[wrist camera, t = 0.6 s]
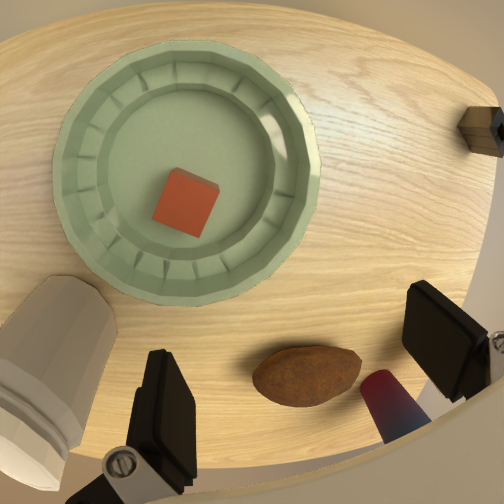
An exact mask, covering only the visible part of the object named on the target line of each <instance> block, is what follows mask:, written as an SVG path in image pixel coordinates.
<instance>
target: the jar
mask: <svg viewBox="0 0 504 504" xmlns="http://www.w3.org/2000/svg"><path fill="white" fill-rule="evenodd" d="M117 333H118V331H117V327H116V322H115V318H114V313H113V310H112V308H111V307H110V306H109V305H108V303H107V302H106V301H105V300H104V298H103V297H102V296H101V294H100V293H99V292H98V291H97V289H96V288H94V287H92V286H90V285H88V284H87V283H85V282H83V281H81V280H79V279H78V278H76V277H74V276H50V277H49V278H48V279H47V280H45V281H44V282H43V283H42V284H41V285H39V286H38V287H37V288H36V289H35V290H34V291H33V292H32V293H31V294H30V295H29V296H28V297H27V299H26V300H25V301H24V302H23V303H22V304H21V305H20V306H19V307H18V308H17V309H16V311H15V312H14V313H13V314H12V315H11V316H10V317H9V318H8V320H7V321H6V322H5V323H4V324H3V325H2V327H1V328H0V471H2V472H3V473H5V474H7V475H8V476H10V477H12V478H14V479H15V480H17V481H19V482H21V483H23V484H26V485H29V486H31V487H34V488H37V489H39V490H46V491H59V486H60V483H61V478H62V474H63V469H64V464H65V462H64V461H66V460H67V456H68V451H69V450H70V449H73V448H75V447H77V446H79V445H80V443H81V439H82V436H83V433H84V430H85V426H86V423H87V419H88V416H89V413H90V410H91V406H92V403H93V400H94V397H95V394H96V391H97V388H98V385H99V382H100V379H101V376H102V373H103V371H104V368H105V365H106V362H107V359H108V357H109V354H110V351H111V349H112V346H113V343H114V341H115V338H116V336H117Z"/></svg>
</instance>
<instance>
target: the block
mask: <svg viewBox="0 0 504 504" xmlns="http://www.w3.org/2000/svg"><path fill="white" fill-rule="evenodd" d="M219 193H220V189H219V185H218V184H216V183H214V182H211V181H209V180H207V179H204V178H202V177H200V176H197V175H195V174H193V173H190V172H188V171H186V170H183V169H181V168H178V167H176V168H175V169H173V170H172V171H171V172H170V174H169V177H168V179H167V181H166V184H165V186H164V189H163V191H162V194H161V196H160V199H159V201H158V204H157V206H156V209H155V211H154V214H153V217H152V220H155V221H157V222H160V223H162V224H165V225H167V226H169V227H172V228H174V229H177V230H179V231H182V232H184V233H187V234H189V235H192V236H194V237H197V238H200V236H201V233H202V231H203V229H204V226H205V224H206V222H207V220H208V217H209V215H210V213H211V211H212V209H213V206H214V204H215V202H216V200H217V198H218V196H219Z"/></svg>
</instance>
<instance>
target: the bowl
mask: <svg viewBox="0 0 504 504" xmlns="http://www.w3.org/2000/svg"><path fill="white" fill-rule="evenodd" d="M52 158H53V159H52V182H53V201H54V204H55V207H56V210H57V213H58V216H59V219H60V222H61V225H62V228H63V230H64V233H65V236H66V238H67V240H68V241H69V243H70V244H71V245H72V247H73V248H74V249H75V251H76V252H77V254H78V255H79V256H80V258H81V259H82V260H83V262H84V263H85V264H86V265H87V267H88V268H89V269H90V270H91V271H92V272H93V273H95V274H96V275H97V276H99V277H100V278H102V279H103V280H104V281H106V282H107V283H108V284H110V285H111V286H113V287H114V288H115V289H117V290H118V291H120V292H121V293H123V294H126V295H129V296H132V297H135V298H138V299H141V300H144V301H147V302H150V303H153V304H156V305H160V306H186V307H198V306H203V305H207V304H210V303H214V302H218V301H222V300H226V299H230V298H233V297H236V296H239V295H240V294H242V293H244V292H245V291H247V290H249V289H250V288H252V287H254V286H255V285H257V284H259V283H260V282H262V281H264V280H265V279H267V278H268V277H270V276H271V275H272V274H273V273H274V272H275V271H276V270H277V269H278V268H279V266H280V265H281V264H282V263H283V262H284V261H285V260H286V259H287V258H288V256H289V255H290V254H291V253H292V252H293V251H294V250H295V249H296V248H297V246H298V245H299V243H300V241H301V239H302V237H303V235H304V233H305V231H306V228H307V226H308V224H309V222H310V220H311V218H312V215H313V213H314V211H315V209H316V205H317V198H318V190H319V182H320V173H321V159H320V154H319V149H318V144H317V139H316V134H315V129H314V125H313V123H312V120H311V118H310V117H309V115H308V113H307V111H306V110H305V108H304V106H303V105H302V103H301V101H300V99H299V98H298V96H297V94H296V93H295V91H294V90H293V88H292V86H290V84H289V83H288V82H287V81H286V80H285V79H283V78H282V77H281V76H280V75H279V74H278V73H276V72H275V71H274V70H273V69H272V68H270V67H269V66H268V65H267V64H266V63H264V62H263V61H262V60H261V59H259V58H258V57H256V56H254V55H252V54H249V53H247V52H244V51H241V50H239V49H236V48H233V47H231V46H228V45H225V44H222V43H219V42H216V41H208V40H169V41H165V42H162V43H158V44H155V45H152V46H149V47H146V48H143V49H140V50H137V51H134V52H131V53H129V54H126V55H124V56H123V57H121V58H120V59H119V60H117V61H116V62H114V63H113V64H112V65H110V66H109V67H108V68H106V69H105V70H104V71H102V72H101V73H100V74H99V75H97V76H96V77H95V78H93V79H92V80H91V81H90V82H89V83H88V84H87V86H86V87H85V88H84V90H83V91H82V93H81V94H80V95H79V97H78V98H77V100H76V101H75V103H74V104H73V105H72V107H71V108H70V110H69V111H68V113H67V115H66V116H65V118H64V121H63V124H62V127H61V130H60V133H59V136H58V140H57V143H56V146H55V150H54V154H53V157H52ZM176 167H178V168H181V169H183V170H186V171H188V172H190V173H193V174H195V175H197V176H200V177H202V178H204V179H207V180H209V181H211V182H214V183H216V184H218V185H219V189H220V193H219V196H218V198H217V200H216V202H215V204H214V206H213V209H212V211H211V213H210V215H209V217H208V220H207V222H206V224H205V226H204V229H203V231H202V233H201V236H200V238H197V237H194V236H192V235H189V234H187V233H184V232H182V231H179V230H177V229H174V228H172V227H169V226H167V225H165V224H162V223H160V222H157V221H155V220H152V217H153V214H154V211H155V209H156V206H157V204H158V201H159V199H160V196H161V194H162V191H163V189H164V186H165V184H166V181H167V179H168V177H169V174H170V172H171V171H172V170H173V169H175V168H176Z"/></svg>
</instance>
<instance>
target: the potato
mask: <svg viewBox="0 0 504 504" xmlns="http://www.w3.org/2000/svg"><path fill="white" fill-rule="evenodd" d="M361 363H362V360H361V359H360V358H359V356H358V355H357V354H356V353H355V352H354V351H352V350H348V349H343V348H338V347H327V346H313V347H302V348H290V349H285V350H282V351H280V352H277V353H275V354H273V355H272V356H270V357H268V358H267V359H266V360H265V361H263V362H262V363H261V364H260V365H259V366H258V367H257V368H256V370H255V371H254V372H253V376H252V379H253V384H254V386H255V388H256V389H257V391H258V392H260V393H261V394H262V395H263V396H264V397H266V398H268V399H269V400H271V401H273V402H275V403H278V404H280V405H285V406H291V407H312V406H317V405H319V404H322V403H324V402H326V401H328V400H330V399H332V398H333V397H335V396H337V395H340V394H342V393H343V392H345V391H347V390H348V389H350V388H351V386H352V385H353V384H354V382H355V380H356V379H357V377H358V375H359V372H360V369H361Z"/></svg>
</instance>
